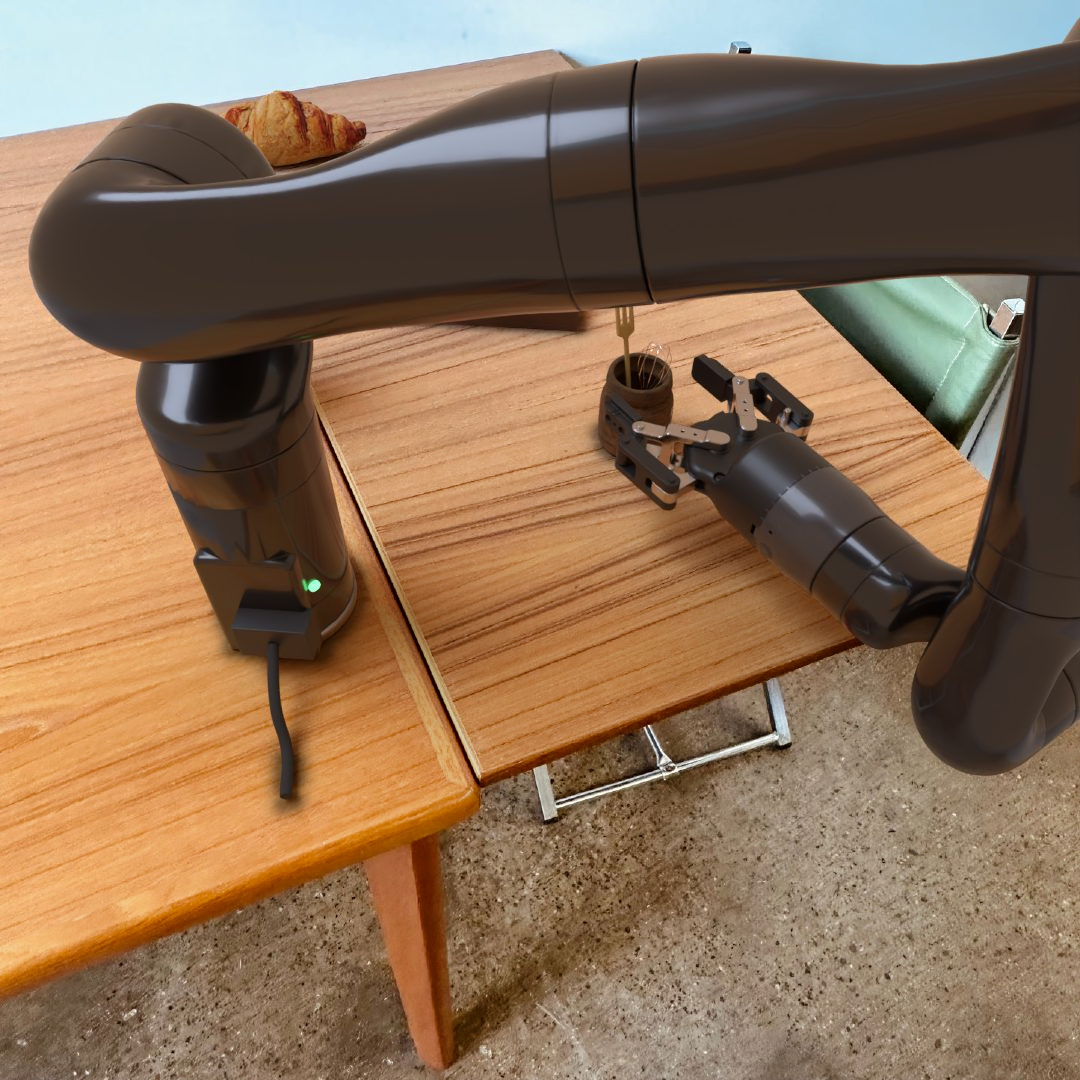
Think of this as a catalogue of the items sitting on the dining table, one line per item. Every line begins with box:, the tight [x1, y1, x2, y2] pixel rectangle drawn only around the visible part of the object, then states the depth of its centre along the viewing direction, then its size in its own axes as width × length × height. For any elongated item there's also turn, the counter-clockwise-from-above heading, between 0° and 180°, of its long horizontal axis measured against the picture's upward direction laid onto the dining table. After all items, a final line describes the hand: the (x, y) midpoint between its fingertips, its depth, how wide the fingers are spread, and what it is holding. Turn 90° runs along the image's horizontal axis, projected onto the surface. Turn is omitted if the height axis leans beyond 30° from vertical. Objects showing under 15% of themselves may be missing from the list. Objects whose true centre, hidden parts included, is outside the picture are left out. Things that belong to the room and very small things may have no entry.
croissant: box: [216, 89, 368, 167], centre depth 105 cm, size 21×10×8 cm, turn 93°
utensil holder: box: [597, 306, 675, 457], centre depth 72 cm, size 6×6×12 cm
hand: (652, 383), depth 70 cm, fingers open, 8 cm apart
